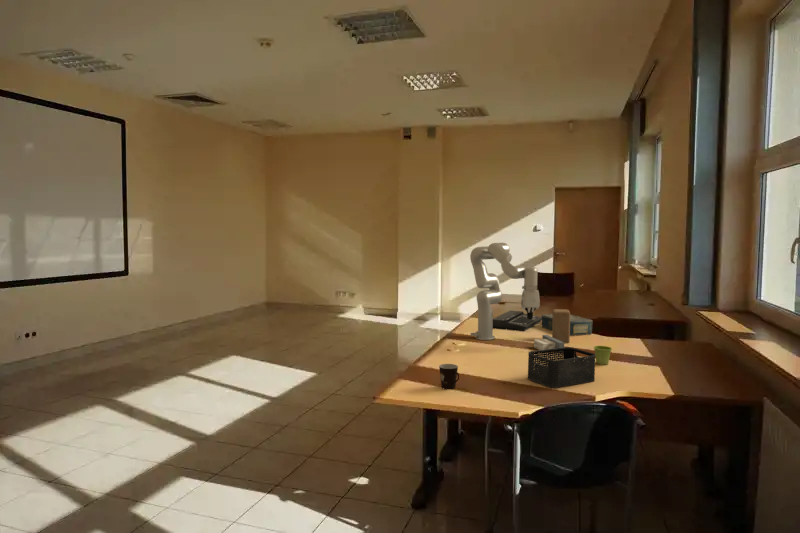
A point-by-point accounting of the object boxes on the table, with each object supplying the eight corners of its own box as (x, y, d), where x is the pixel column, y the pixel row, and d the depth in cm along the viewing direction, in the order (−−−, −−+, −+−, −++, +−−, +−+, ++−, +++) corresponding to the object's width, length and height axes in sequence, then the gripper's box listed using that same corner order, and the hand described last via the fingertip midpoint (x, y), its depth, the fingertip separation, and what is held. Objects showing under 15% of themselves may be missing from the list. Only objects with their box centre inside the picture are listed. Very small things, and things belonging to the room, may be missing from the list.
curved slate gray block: (559, 353, 315) (559, 342, 315) (542, 344, 337) (542, 335, 336) (564, 352, 316) (564, 342, 315) (546, 344, 337) (546, 334, 337)
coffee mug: (437, 384, 255) (437, 364, 254) (455, 384, 256) (455, 363, 255) (441, 392, 244) (441, 370, 243) (460, 392, 244) (460, 370, 243)
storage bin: (568, 371, 278) (569, 345, 277) (598, 381, 260) (598, 354, 259) (524, 378, 265) (525, 351, 264) (552, 389, 248) (552, 361, 247)
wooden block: (569, 343, 340) (570, 311, 338) (553, 342, 342) (553, 311, 340) (568, 339, 350) (568, 309, 348) (551, 339, 352) (552, 308, 350)
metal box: (566, 337, 360) (567, 322, 359) (540, 327, 391) (540, 314, 390) (593, 334, 366) (594, 320, 365) (565, 326, 397) (565, 312, 396)
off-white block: (542, 352, 318) (542, 343, 318) (533, 347, 330) (534, 339, 330) (555, 351, 320) (555, 343, 319) (546, 346, 332) (546, 338, 331)
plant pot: (612, 362, 294) (612, 346, 294) (611, 366, 286) (611, 350, 285) (593, 360, 298) (594, 345, 298) (592, 364, 290) (592, 348, 289)
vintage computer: (527, 331, 375) (527, 320, 375) (487, 329, 389) (487, 317, 389) (542, 322, 413) (542, 312, 412) (505, 320, 427) (505, 310, 426)
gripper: (521, 289, 315) (520, 320, 317) (545, 288, 318) (544, 319, 320) (516, 287, 323) (515, 318, 324) (539, 287, 325) (538, 317, 327)
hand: (529, 318), depth 322 cm, fingers closed
